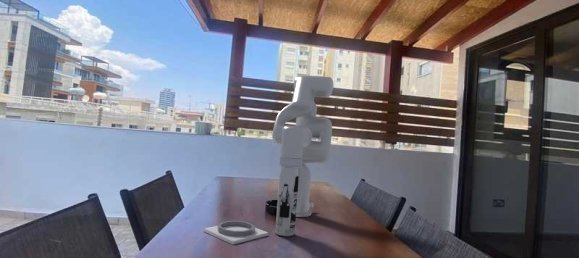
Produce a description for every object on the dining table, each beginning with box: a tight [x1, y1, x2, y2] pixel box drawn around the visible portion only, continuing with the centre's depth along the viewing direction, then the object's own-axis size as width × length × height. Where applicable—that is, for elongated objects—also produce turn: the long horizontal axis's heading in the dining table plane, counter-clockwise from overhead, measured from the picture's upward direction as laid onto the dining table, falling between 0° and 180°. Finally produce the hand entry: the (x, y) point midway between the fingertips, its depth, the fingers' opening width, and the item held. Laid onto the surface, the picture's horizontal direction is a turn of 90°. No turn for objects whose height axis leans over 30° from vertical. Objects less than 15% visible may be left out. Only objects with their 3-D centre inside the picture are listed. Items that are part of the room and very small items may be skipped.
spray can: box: [275, 176, 299, 237], centre depth 119 cm, size 7×7×20 cm
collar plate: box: [203, 220, 269, 245], centre depth 115 cm, size 15×15×2 cm
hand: (286, 214), depth 119 cm, fingers closed on spray can, 6 cm apart
